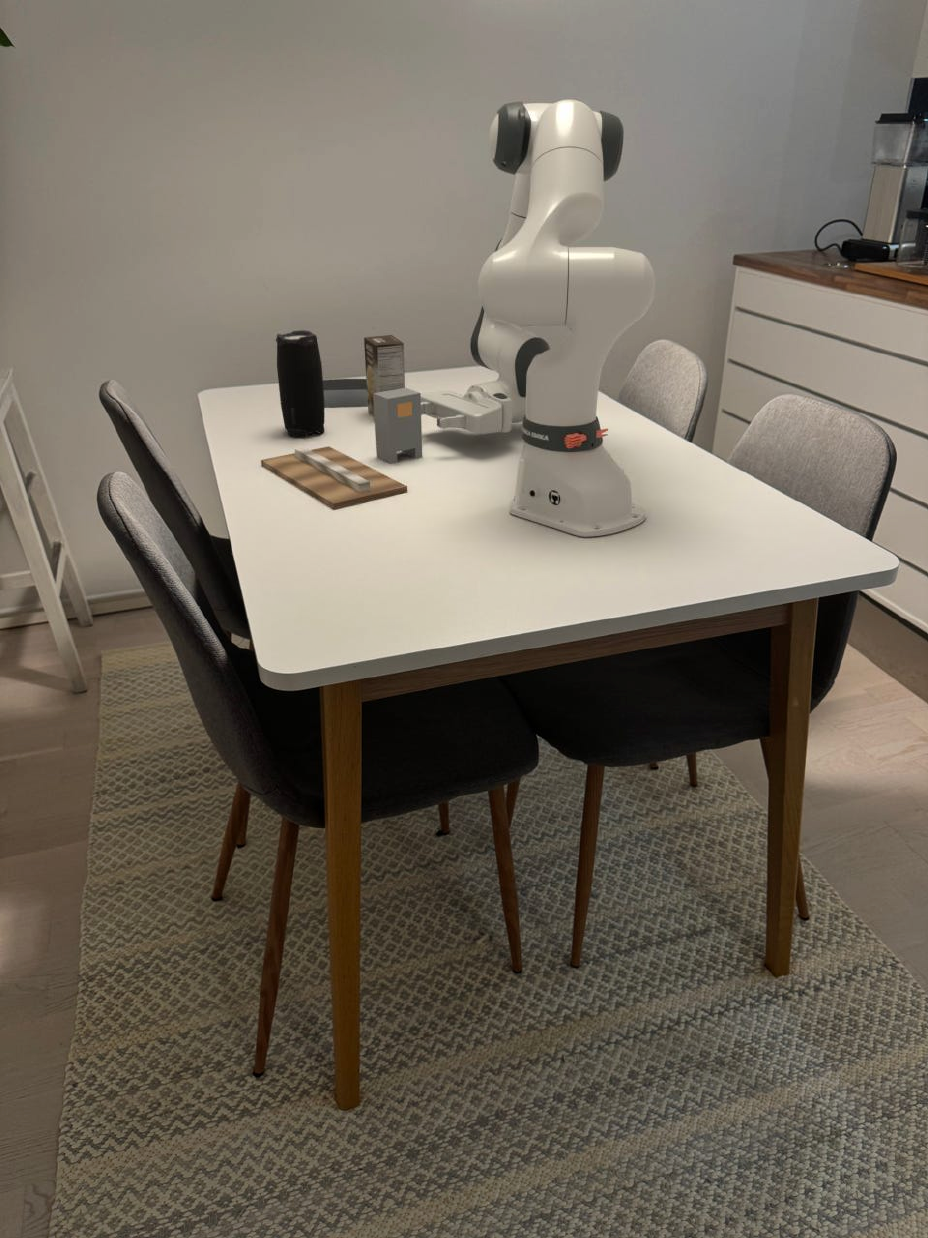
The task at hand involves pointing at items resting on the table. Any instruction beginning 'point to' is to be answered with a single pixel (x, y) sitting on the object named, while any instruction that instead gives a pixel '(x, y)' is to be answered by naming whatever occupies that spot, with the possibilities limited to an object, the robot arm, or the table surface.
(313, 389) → the portable speaker
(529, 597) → the table surface
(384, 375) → the coffee box
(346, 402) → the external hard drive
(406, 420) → the block
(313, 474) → the rail
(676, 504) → the table surface
